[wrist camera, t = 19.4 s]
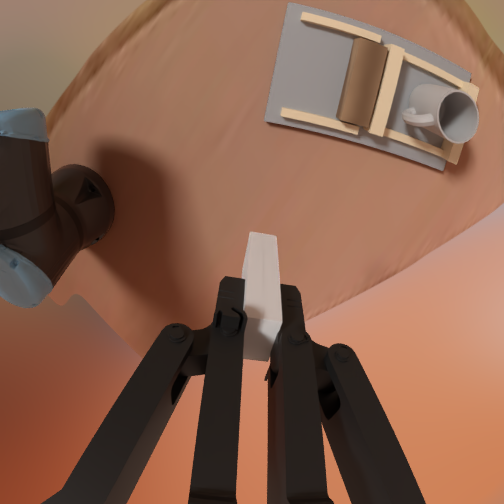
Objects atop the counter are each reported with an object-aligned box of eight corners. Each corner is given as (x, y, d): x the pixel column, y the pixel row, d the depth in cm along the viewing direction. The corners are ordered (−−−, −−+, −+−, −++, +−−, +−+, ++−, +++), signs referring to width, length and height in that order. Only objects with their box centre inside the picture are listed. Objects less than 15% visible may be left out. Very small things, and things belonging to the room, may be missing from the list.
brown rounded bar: (335, 116, 39) (340, 119, 36) (353, 39, 32) (360, 37, 30) (361, 124, 39) (368, 127, 37) (380, 48, 33) (388, 47, 30)
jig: (264, 119, 41) (264, 124, 37) (287, 3, 31) (290, -3, 27) (439, 168, 43) (451, 177, 39) (467, 72, 33) (482, 75, 30)
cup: (449, 123, 37) (482, 138, 30) (397, 137, 40) (424, 154, 32) (440, 79, 34) (473, 86, 26) (385, 91, 36) (413, 98, 29)
